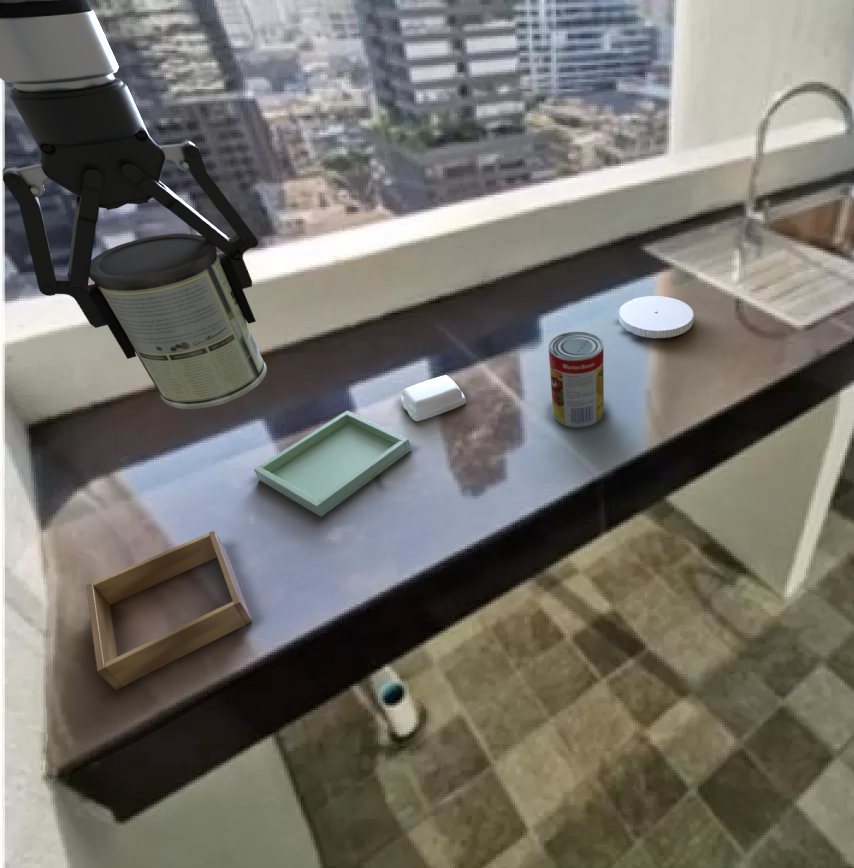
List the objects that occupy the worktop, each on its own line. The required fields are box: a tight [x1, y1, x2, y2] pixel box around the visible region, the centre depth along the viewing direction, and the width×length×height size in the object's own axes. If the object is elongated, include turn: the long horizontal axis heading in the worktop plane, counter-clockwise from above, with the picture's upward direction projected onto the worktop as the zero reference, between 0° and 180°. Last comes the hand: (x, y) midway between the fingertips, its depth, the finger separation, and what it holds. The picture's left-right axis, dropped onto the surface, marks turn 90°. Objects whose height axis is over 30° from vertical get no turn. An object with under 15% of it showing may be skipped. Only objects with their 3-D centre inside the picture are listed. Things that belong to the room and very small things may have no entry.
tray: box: [253, 410, 412, 518], centre depth 84 cm, size 16×13×2 cm
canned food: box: [548, 331, 605, 429], centre depth 90 cm, size 8×8×12 cm
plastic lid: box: [618, 295, 695, 339], centre depth 115 cm, size 14×14×2 cm
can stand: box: [85, 530, 253, 691], centre depth 65 cm, size 13×13×4 cm
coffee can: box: [89, 233, 268, 410], centre depth 60 cm, size 10×10×14 cm
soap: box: [400, 374, 467, 422], centre depth 95 cm, size 9×7×3 cm
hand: (192, 334), depth 61 cm, fingers closed on coffee can, 10 cm apart
